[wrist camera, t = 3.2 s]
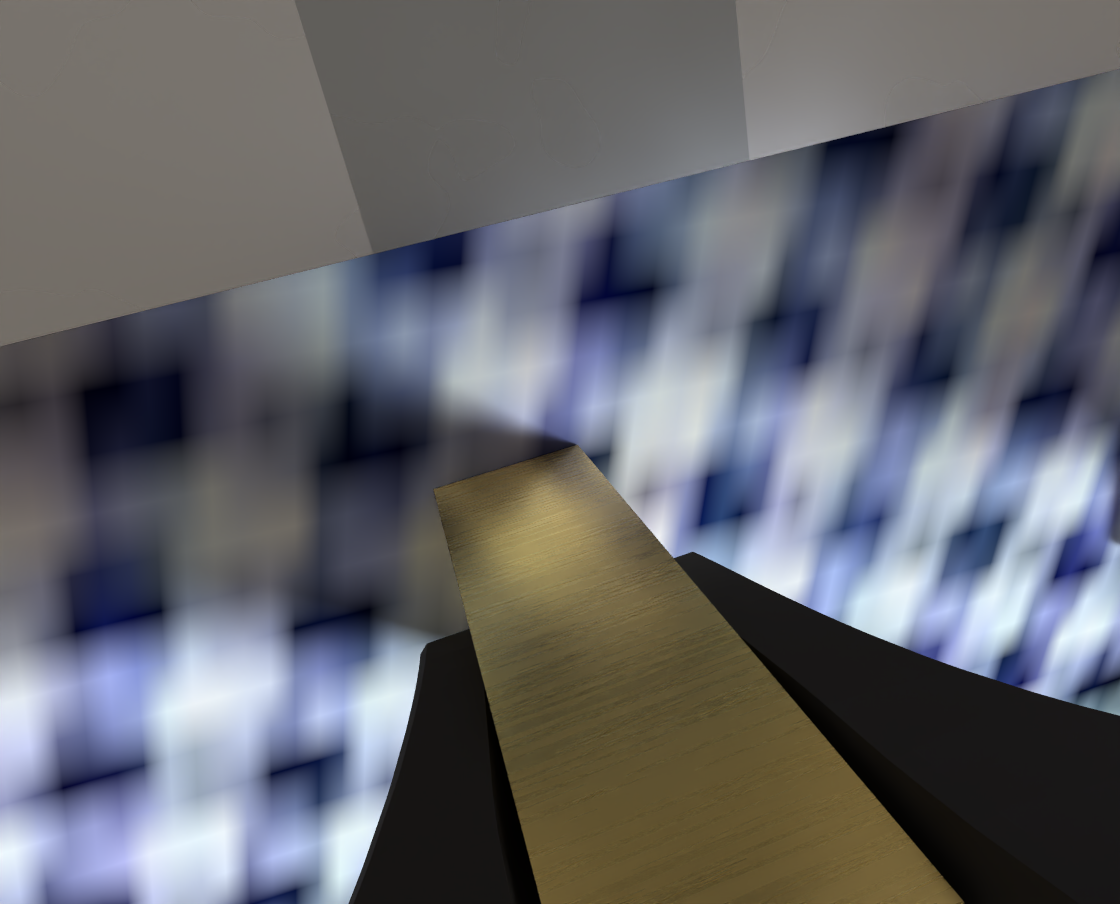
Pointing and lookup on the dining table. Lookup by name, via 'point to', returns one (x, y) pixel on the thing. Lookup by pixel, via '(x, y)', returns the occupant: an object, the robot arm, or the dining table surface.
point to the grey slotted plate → (435, 119)
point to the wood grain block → (650, 716)
